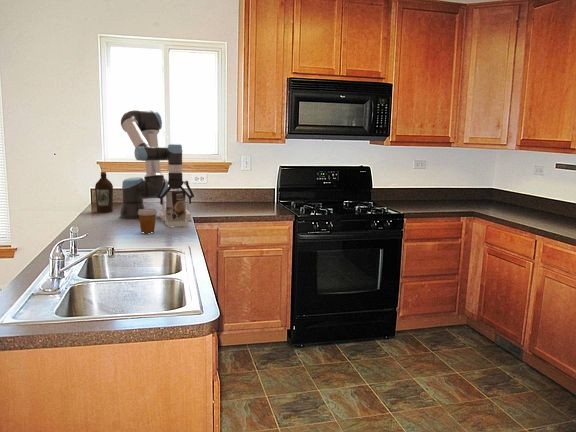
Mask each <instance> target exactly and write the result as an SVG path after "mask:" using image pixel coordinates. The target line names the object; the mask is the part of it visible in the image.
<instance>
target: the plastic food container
mask: <svg viewBox="0 0 576 432" xmlns="http://www.w3.org/2000/svg"><path fill="white" fill-rule="evenodd" d="M158 211H159V213H158V215H159V219H160V220H161V221H162V222H163V221H165V220H164V218H166V209H164V211H163V210H162V209H159V210H158ZM191 217H192V216H191V212H189V210H187V209H186V220H187V221H188V222H189V221H191Z"/></svg>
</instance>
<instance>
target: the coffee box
mask: <svg viewBox="0 0 576 432" xmlns="http://www.w3.org/2000/svg"><path fill="white" fill-rule="evenodd" d="M186 196H187V195H186V194H185V193H184V192H183V191H182V190H181V189H175V190H170V191H169V192H168V193H167V194H166V196H165V197H166V198H165V203H166V205H165V210H166V220H170V221H177V220H183V219H186V210H187V198H186Z"/></svg>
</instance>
